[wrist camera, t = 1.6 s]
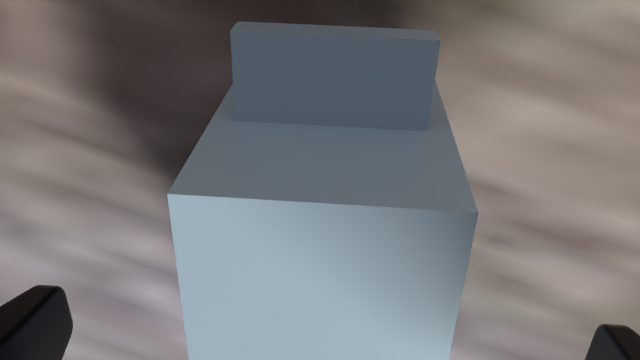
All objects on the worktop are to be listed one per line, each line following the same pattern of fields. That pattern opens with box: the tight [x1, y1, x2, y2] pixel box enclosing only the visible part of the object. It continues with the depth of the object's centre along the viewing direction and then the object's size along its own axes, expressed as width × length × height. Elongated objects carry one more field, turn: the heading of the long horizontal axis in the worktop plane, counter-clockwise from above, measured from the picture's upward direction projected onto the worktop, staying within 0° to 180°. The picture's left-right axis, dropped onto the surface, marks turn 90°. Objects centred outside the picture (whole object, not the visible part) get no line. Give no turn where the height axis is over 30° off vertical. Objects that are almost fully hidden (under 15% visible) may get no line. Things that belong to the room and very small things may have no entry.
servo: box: [167, 21, 478, 360], centre depth 11 cm, size 4×9×6 cm, turn 179°
